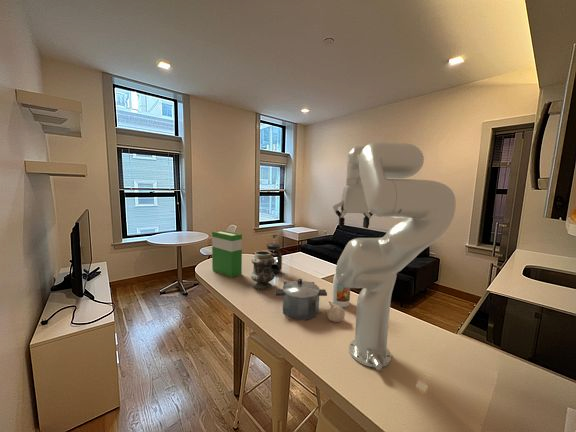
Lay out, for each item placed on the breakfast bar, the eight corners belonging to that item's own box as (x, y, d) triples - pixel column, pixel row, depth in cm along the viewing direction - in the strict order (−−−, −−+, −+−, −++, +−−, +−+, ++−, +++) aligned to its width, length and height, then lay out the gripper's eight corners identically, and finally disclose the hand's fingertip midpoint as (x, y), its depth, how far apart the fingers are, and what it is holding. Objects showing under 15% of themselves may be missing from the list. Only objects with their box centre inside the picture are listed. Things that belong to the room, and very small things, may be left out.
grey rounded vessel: (275, 282, 131) (276, 250, 129) (271, 292, 119) (272, 256, 117) (253, 281, 132) (254, 248, 130) (248, 290, 120) (248, 255, 118)
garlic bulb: (332, 314, 100) (333, 296, 99) (346, 320, 96) (347, 301, 95) (324, 321, 94) (325, 301, 94) (338, 327, 90) (340, 307, 89)
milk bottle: (329, 305, 108) (331, 261, 105) (334, 298, 114) (337, 257, 112) (346, 309, 104) (349, 264, 102) (351, 302, 111) (353, 260, 108)
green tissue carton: (212, 270, 146) (212, 231, 144) (222, 267, 152) (222, 230, 149) (231, 277, 136) (231, 235, 133) (241, 274, 142) (241, 234, 139)
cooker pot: (329, 320, 95) (330, 298, 94) (275, 320, 94) (275, 298, 93) (321, 300, 111) (321, 282, 110) (274, 300, 110) (275, 281, 109)
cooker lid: (322, 299, 94) (323, 292, 94) (283, 299, 93) (283, 292, 93) (315, 283, 110) (315, 276, 110) (282, 282, 109) (282, 276, 109)
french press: (261, 271, 148) (262, 234, 145) (273, 268, 154) (274, 232, 152) (274, 276, 139) (275, 237, 137) (286, 273, 146) (287, 235, 143)
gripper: (373, 184, 97) (370, 226, 99) (331, 183, 95) (329, 226, 97) (382, 184, 90) (379, 229, 92) (337, 182, 88) (335, 229, 90)
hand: (353, 227), depth 94 cm, fingers open, 9 cm apart
